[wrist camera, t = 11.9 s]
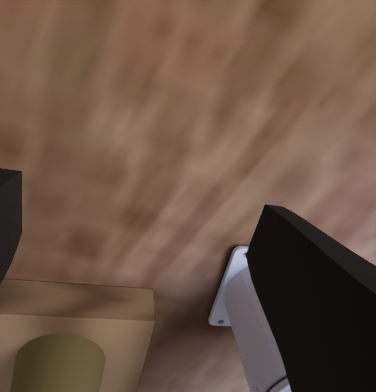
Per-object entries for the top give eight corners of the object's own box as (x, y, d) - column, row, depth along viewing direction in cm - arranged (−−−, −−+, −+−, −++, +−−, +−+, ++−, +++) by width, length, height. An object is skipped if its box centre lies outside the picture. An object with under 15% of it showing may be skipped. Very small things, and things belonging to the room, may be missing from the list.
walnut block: (153, 289, 26) (155, 321, 23) (131, 378, 31) (131, 412, 28) (-6, 278, 23) (-24, 312, 21) (-1, 377, 28) (-15, 414, 26)
